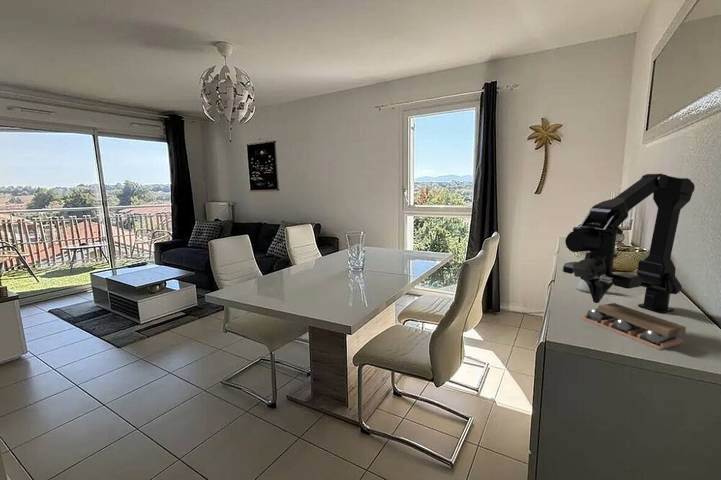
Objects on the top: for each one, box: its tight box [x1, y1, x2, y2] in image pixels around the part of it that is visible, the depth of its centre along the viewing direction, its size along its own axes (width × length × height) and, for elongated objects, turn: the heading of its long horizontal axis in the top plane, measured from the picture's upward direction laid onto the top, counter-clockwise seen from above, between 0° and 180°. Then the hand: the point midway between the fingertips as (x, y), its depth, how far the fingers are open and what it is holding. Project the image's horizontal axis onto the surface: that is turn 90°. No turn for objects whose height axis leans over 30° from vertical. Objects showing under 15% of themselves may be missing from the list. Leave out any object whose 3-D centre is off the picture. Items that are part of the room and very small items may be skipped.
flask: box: [576, 278, 591, 294], centre depth 122 cm, size 7×7×10 cm
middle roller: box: [613, 319, 642, 334], centre depth 90 cm, size 7×4×4 cm
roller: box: [642, 330, 678, 346], centre depth 83 cm, size 4×7×4 cm
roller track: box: [580, 313, 685, 351], centre depth 90 cm, size 9×20×1 cm, turn 20°
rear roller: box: [586, 308, 615, 323], centre depth 97 cm, size 7×4×4 cm, turn 110°
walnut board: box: [597, 302, 687, 337], centre depth 88 cm, size 6×17×2 cm, turn 17°
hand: (596, 302), depth 98 cm, fingers closed
